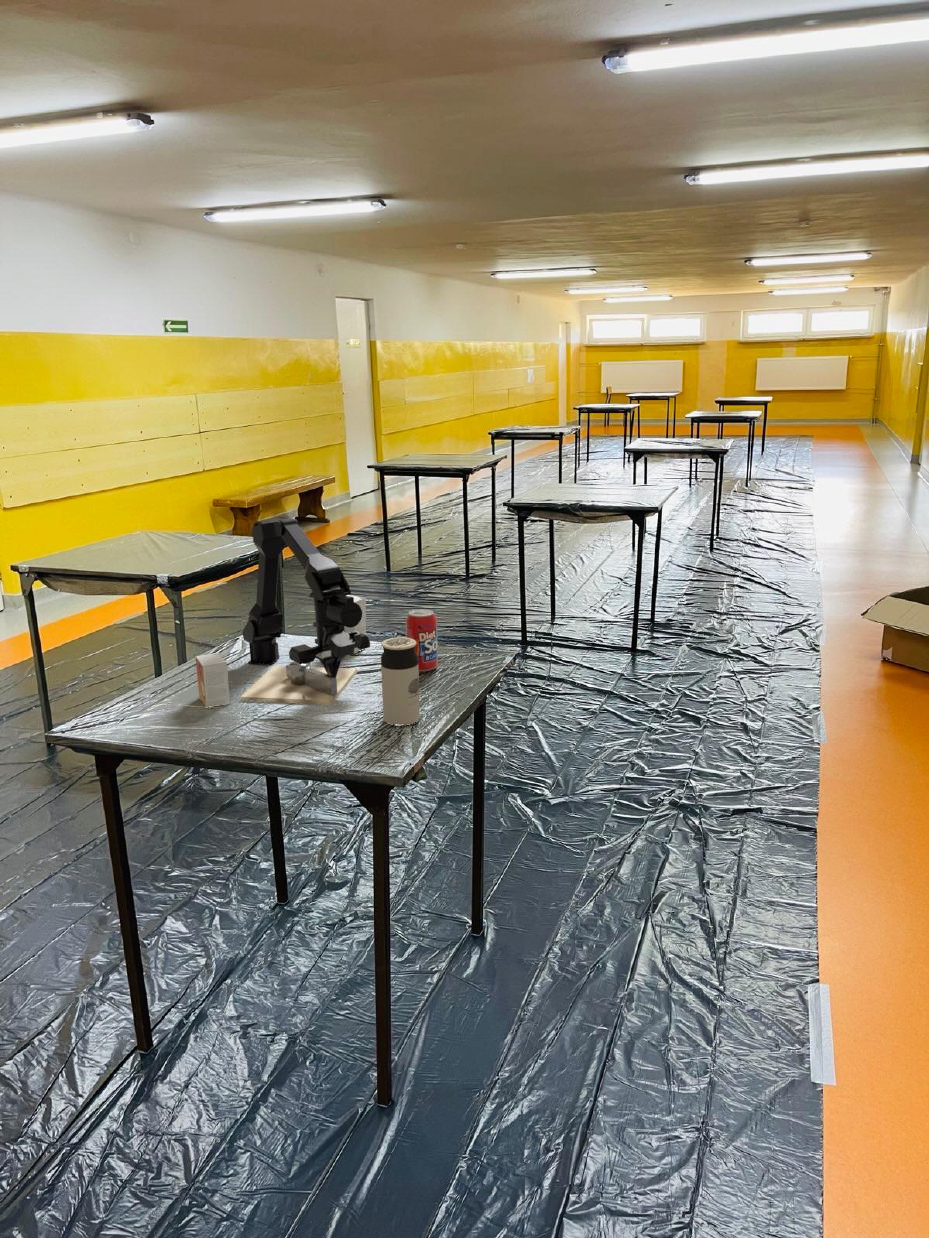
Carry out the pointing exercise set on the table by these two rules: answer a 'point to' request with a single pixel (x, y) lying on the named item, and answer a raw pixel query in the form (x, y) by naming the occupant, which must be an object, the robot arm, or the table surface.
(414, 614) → the soda can
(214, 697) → the small box
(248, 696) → the base plate
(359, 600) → the skincare box
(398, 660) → the travel mug
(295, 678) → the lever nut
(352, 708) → the table surface
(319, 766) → the table surface
